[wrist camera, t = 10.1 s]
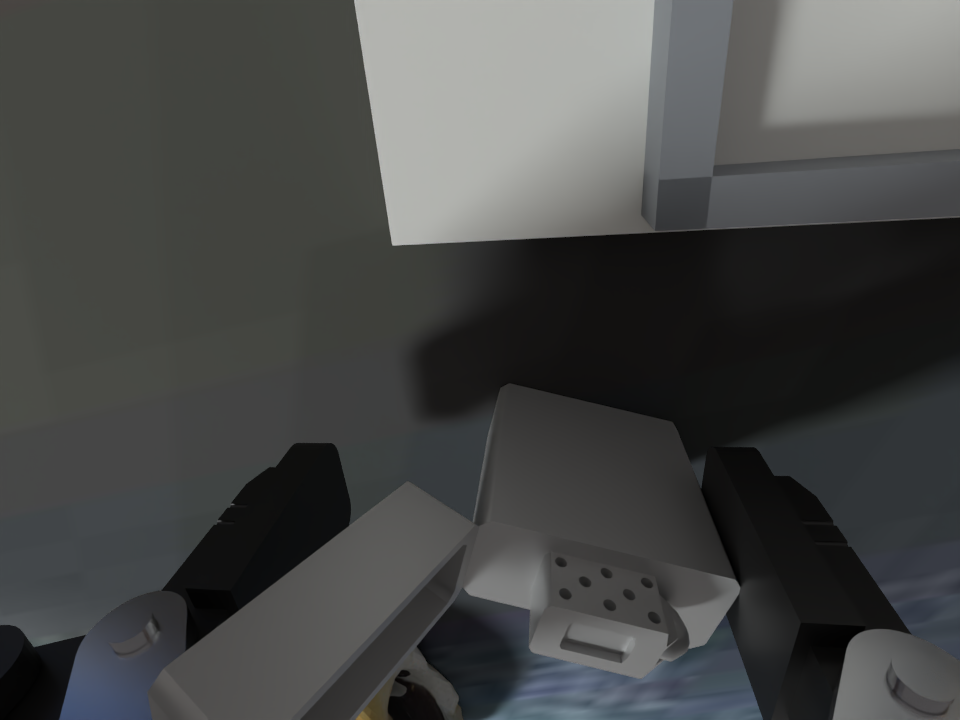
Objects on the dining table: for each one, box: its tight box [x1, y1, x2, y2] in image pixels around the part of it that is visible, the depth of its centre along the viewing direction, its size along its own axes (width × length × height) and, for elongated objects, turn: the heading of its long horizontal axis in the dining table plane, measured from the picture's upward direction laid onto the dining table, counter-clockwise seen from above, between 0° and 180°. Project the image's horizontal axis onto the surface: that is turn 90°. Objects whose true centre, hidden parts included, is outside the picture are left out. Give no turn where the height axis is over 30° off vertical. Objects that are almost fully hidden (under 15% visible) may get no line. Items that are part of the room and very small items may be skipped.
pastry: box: [355, 646, 463, 720], centre depth 16 cm, size 9×7×4 cm
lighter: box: [147, 383, 740, 720], centre depth 8 cm, size 7×2×8 cm, turn 78°
